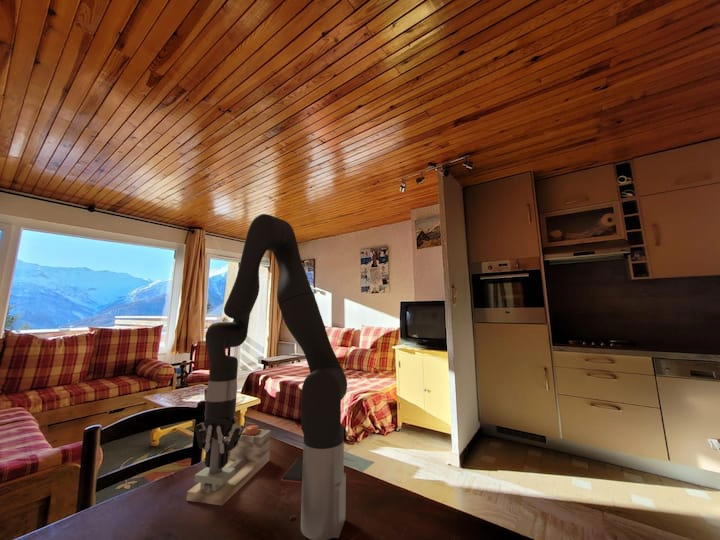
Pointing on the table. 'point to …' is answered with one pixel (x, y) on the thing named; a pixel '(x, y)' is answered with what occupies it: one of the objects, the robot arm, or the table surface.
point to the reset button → (251, 430)
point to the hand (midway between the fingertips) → (215, 466)
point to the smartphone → (294, 472)
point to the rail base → (225, 487)
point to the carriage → (214, 470)
